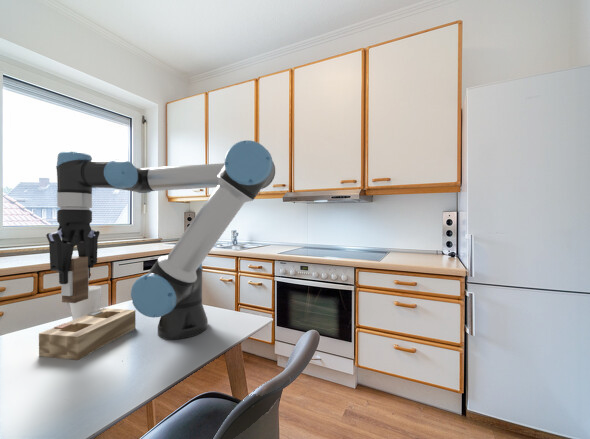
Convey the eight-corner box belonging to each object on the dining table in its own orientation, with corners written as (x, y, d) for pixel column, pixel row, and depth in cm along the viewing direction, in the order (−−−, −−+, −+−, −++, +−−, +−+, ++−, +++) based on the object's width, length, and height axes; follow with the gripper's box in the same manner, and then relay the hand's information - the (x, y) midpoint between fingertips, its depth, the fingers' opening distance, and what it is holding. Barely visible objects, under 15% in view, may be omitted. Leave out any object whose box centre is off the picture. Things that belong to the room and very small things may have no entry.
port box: (135, 328, 90) (135, 309, 89) (77, 359, 70) (77, 335, 70) (103, 325, 91) (103, 307, 91) (39, 356, 72) (38, 332, 72)
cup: (84, 329, 88) (84, 293, 88) (62, 327, 90) (61, 291, 90) (108, 319, 97) (108, 286, 97) (87, 317, 99) (87, 284, 99)
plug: (88, 298, 77) (87, 256, 77) (74, 303, 73) (74, 258, 73) (76, 297, 78) (75, 256, 78) (62, 302, 74) (61, 258, 74)
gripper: (91, 209, 84) (91, 284, 85) (29, 208, 67) (29, 301, 68) (112, 209, 83) (112, 285, 83) (54, 208, 66) (55, 303, 66)
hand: (75, 292), depth 75 cm, fingers closed on plug, 4 cm apart
